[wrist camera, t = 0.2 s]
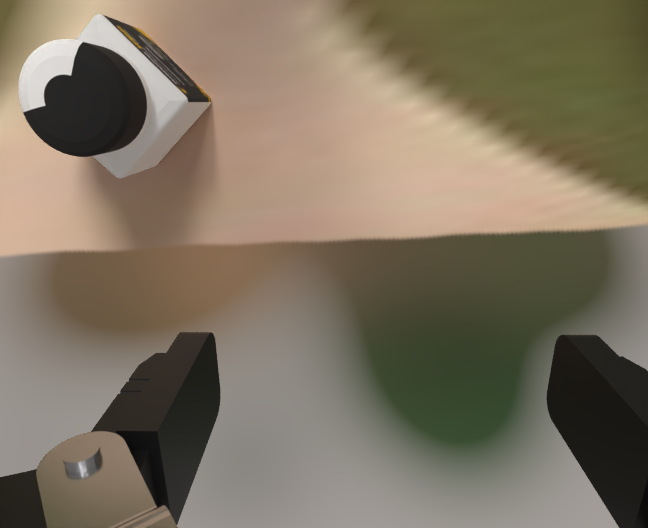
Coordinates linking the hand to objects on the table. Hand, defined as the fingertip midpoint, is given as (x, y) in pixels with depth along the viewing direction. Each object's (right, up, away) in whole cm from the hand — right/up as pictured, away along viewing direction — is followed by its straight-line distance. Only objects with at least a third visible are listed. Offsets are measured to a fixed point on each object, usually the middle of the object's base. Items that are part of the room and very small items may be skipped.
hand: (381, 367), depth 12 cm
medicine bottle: (-15, +15, +26) cm, 33 cm away
